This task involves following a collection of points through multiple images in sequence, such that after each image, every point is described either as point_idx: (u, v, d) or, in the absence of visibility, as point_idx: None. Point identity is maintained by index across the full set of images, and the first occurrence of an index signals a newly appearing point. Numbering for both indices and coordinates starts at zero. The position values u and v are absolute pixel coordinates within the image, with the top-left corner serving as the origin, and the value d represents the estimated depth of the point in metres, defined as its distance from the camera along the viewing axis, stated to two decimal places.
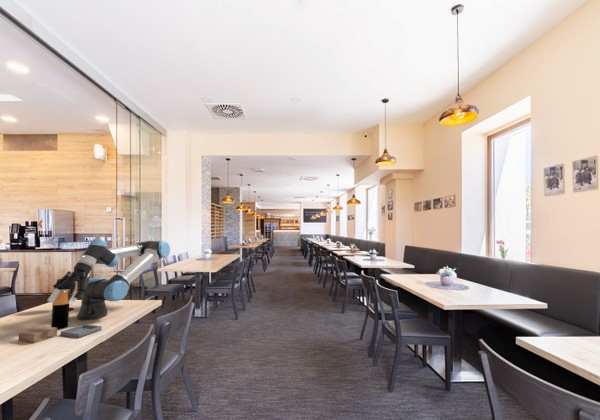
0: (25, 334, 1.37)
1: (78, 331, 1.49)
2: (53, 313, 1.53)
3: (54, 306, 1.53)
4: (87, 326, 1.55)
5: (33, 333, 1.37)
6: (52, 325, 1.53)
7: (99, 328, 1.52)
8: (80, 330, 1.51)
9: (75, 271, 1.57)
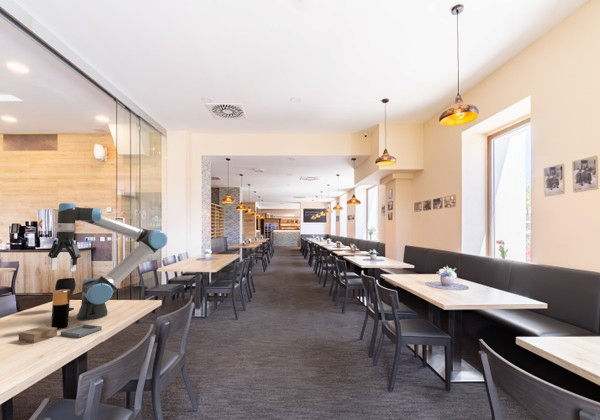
0: (25, 334, 1.37)
1: (78, 331, 1.49)
2: (53, 313, 1.53)
3: (54, 306, 1.53)
4: (87, 326, 1.55)
5: (33, 333, 1.37)
6: (52, 325, 1.53)
7: (99, 328, 1.52)
8: (80, 330, 1.51)
9: (60, 239, 1.59)
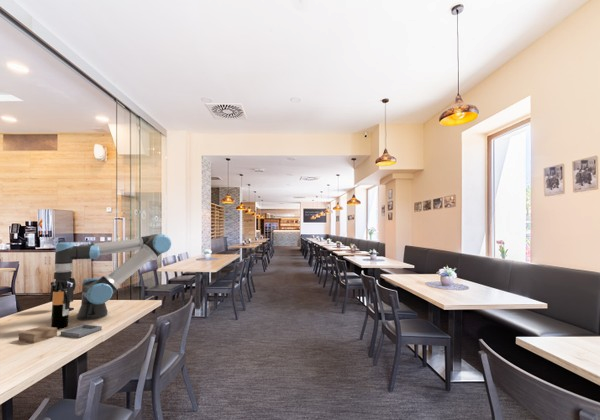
0: (25, 334, 1.37)
1: (78, 331, 1.49)
2: (53, 313, 1.53)
3: (54, 306, 1.53)
4: (87, 326, 1.55)
5: (33, 333, 1.37)
6: (52, 325, 1.53)
7: (99, 328, 1.52)
8: (80, 330, 1.51)
9: None
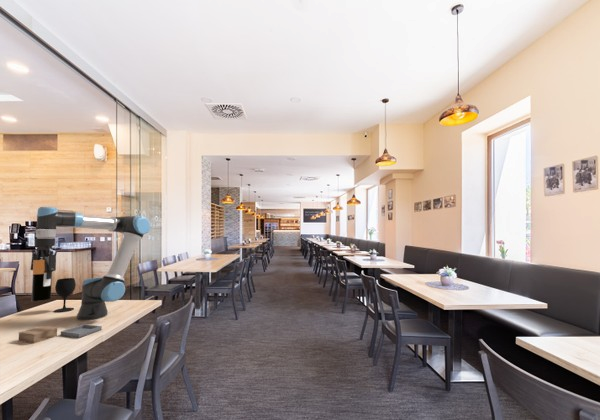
0: (25, 334, 1.37)
1: (78, 331, 1.49)
2: (33, 283, 1.40)
3: (34, 275, 1.40)
4: (87, 326, 1.55)
5: (33, 333, 1.37)
6: (32, 296, 1.40)
7: (99, 328, 1.52)
8: (80, 330, 1.51)
9: (38, 246, 1.44)
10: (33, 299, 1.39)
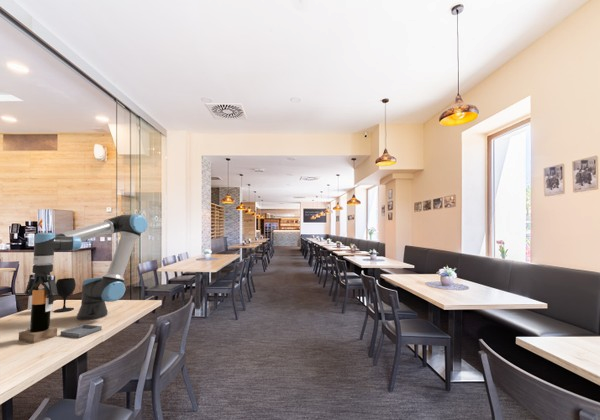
0: (25, 334, 1.37)
1: (78, 331, 1.49)
2: (32, 313, 1.39)
3: (33, 306, 1.39)
4: (87, 326, 1.55)
5: (33, 333, 1.37)
6: (31, 327, 1.38)
7: (99, 328, 1.52)
8: (80, 330, 1.51)
9: (36, 273, 1.43)
10: (31, 330, 1.38)
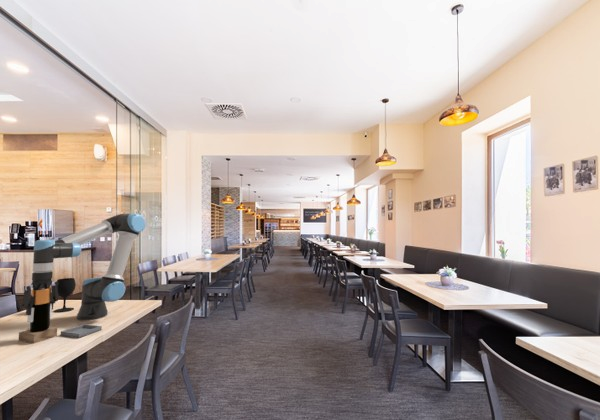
0: (25, 334, 1.37)
1: (78, 331, 1.49)
2: None
3: (32, 306, 1.39)
4: (87, 326, 1.55)
5: (33, 333, 1.37)
6: (31, 327, 1.38)
7: (99, 328, 1.52)
8: (80, 330, 1.51)
9: None
10: (31, 330, 1.38)
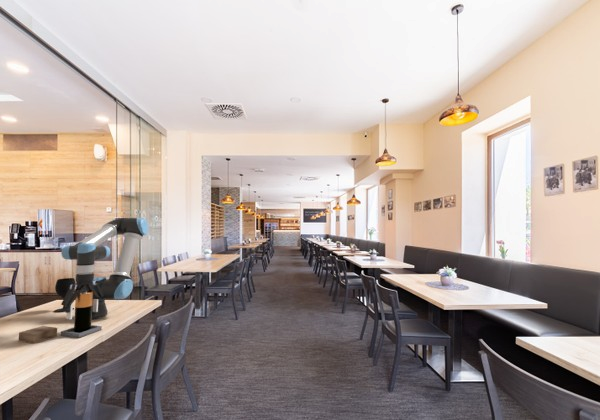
0: (25, 334, 1.37)
1: None
2: (76, 316, 1.47)
3: (77, 309, 1.47)
4: None
5: (33, 333, 1.37)
6: (75, 328, 1.46)
7: (99, 328, 1.52)
8: None
9: None
10: (76, 331, 1.46)
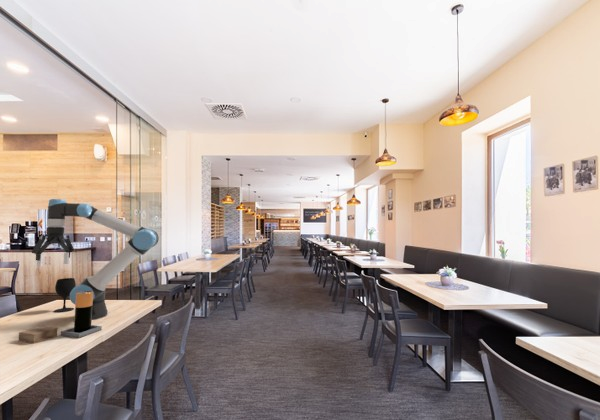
0: (25, 334, 1.37)
1: None
2: (76, 316, 1.47)
3: (77, 308, 1.47)
4: None
5: (33, 333, 1.37)
6: (75, 328, 1.46)
7: (99, 328, 1.52)
8: None
9: None
10: (76, 331, 1.46)
